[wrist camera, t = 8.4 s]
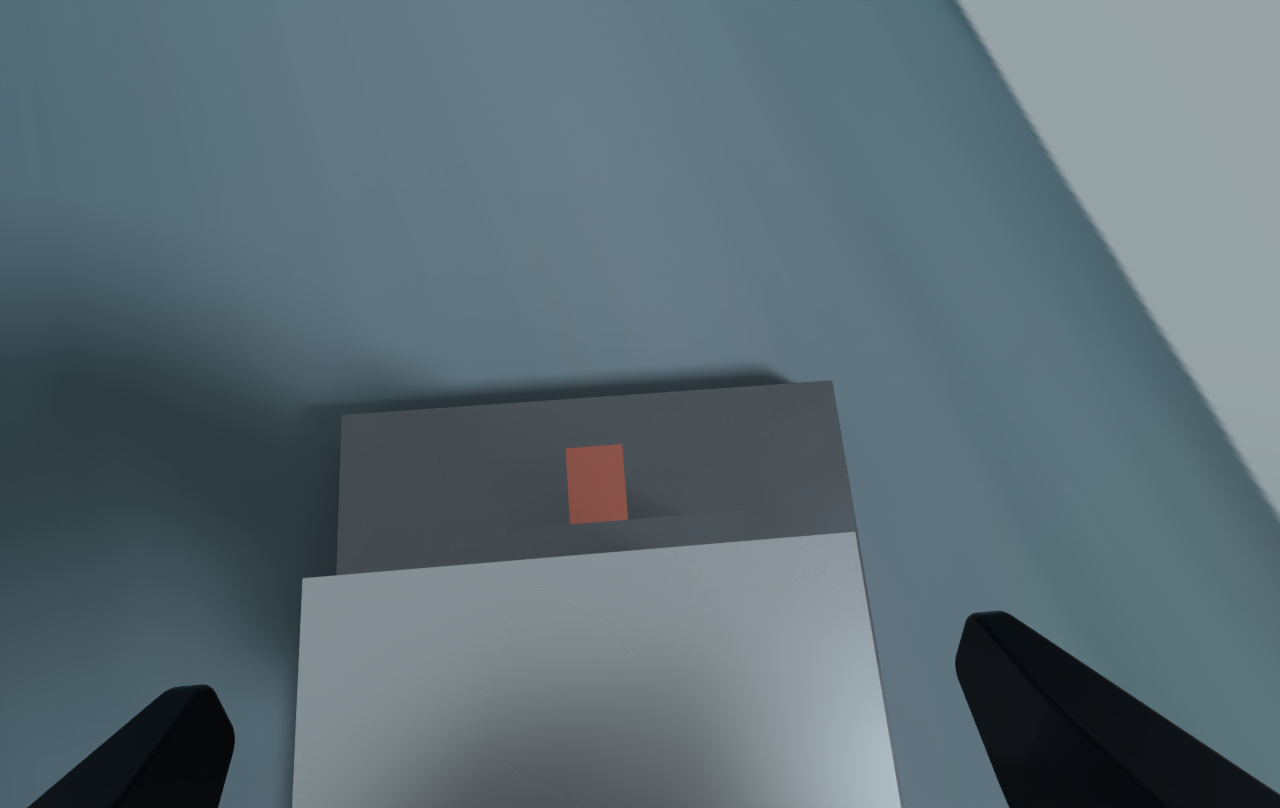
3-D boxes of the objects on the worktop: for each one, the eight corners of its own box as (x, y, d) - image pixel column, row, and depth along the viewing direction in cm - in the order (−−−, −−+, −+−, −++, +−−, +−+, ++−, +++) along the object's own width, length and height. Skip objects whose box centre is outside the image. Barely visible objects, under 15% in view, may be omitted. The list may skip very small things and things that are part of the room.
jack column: (708, 764, 13) (970, 1221, 4) (522, 783, 13) (269, 1322, 3) (689, 569, 14) (852, 517, 5) (516, 584, 14) (304, 561, 4)
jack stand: (900, 913, 18) (1041, 1069, 12) (346, 980, 17) (206, 1181, 11) (817, 395, 21) (893, 320, 16) (360, 427, 20) (261, 361, 15)
